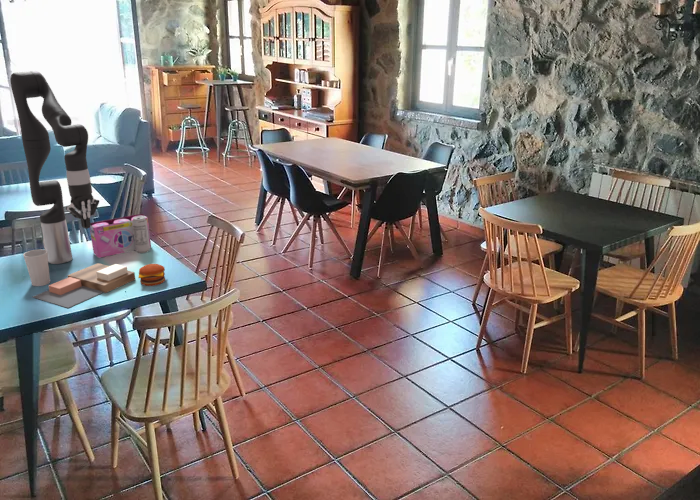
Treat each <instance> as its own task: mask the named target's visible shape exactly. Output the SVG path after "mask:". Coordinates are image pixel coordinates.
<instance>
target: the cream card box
mask: <svg viewBox="0 0 700 500" xmlns="http://www.w3.org/2000/svg"><path fill="white" fill-rule="evenodd" d="M108 266H109V267H107V268H104V269H102V270H99V271H97V272H96V274H97V278H99V279H103V280H107V281H110V280H112V279H114V278H117V277H119V276H121V275H123V274H126V273H128V272H127V271H128V268H127V266H125V265H121V264H117V263H114V264H112V265H108Z"/></svg>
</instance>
